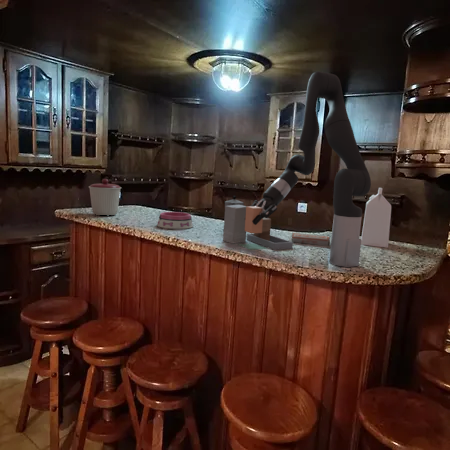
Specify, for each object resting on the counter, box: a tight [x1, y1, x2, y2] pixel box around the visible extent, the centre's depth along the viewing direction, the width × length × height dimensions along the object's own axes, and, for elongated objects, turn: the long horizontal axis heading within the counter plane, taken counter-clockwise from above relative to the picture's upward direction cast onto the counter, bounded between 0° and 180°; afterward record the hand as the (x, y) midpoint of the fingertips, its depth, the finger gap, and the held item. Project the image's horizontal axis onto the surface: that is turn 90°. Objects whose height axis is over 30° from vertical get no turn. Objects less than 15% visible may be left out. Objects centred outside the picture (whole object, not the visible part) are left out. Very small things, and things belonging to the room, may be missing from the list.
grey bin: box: [246, 233, 294, 251], centre depth 157 cm, size 20×9×3 cm, turn 28°
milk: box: [360, 187, 392, 248], centre depth 172 cm, size 12×12×26 cm
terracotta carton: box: [245, 205, 263, 234], centre depth 149 cm, size 5×5×10 cm
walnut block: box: [253, 217, 272, 241], centre depth 162 cm, size 5×5×10 cm
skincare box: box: [222, 205, 247, 244], centre depth 158 cm, size 8×7×16 cm
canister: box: [88, 178, 122, 216], centre depth 215 cm, size 18×18×21 cm
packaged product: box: [287, 232, 331, 250], centre depth 163 cm, size 18×5×10 cm
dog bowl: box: [156, 211, 194, 230], centre depth 191 cm, size 18×19×7 cm
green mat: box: [237, 243, 268, 251], centre depth 150 cm, size 10×8×1 cm
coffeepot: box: [222, 195, 245, 233], centre depth 183 cm, size 15×9×18 cm, turn 176°
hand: (250, 221), depth 148 cm, fingers closed on terracotta carton, 5 cm apart
